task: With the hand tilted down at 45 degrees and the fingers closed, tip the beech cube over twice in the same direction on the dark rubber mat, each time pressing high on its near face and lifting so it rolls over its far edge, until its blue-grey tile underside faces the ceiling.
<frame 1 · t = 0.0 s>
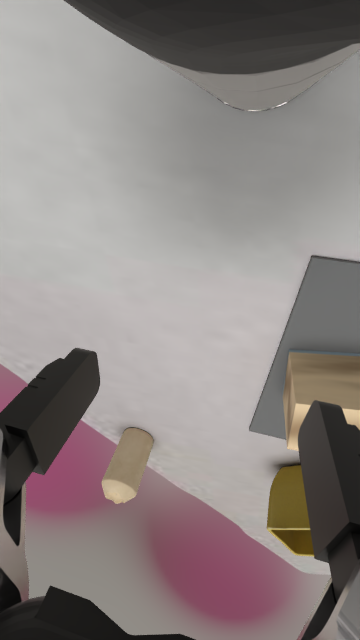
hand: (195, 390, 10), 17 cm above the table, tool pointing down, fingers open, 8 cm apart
candle: (139, 435, 47), on the table
cube: (319, 375, 30), resting on mat
flower pot: (304, 471, 42), on the table
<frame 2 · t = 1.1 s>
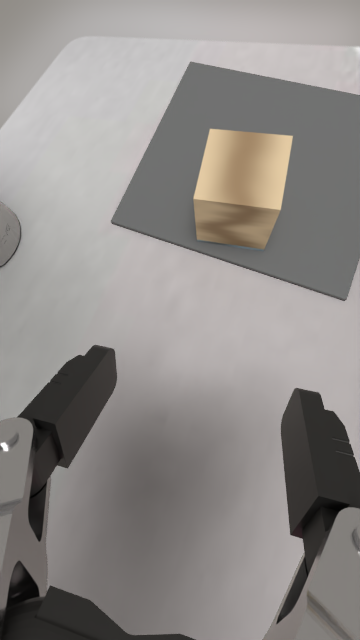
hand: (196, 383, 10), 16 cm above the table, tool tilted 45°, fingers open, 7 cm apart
cube: (235, 216, 29), resting on mat
mat: (256, 166, 31), on the table
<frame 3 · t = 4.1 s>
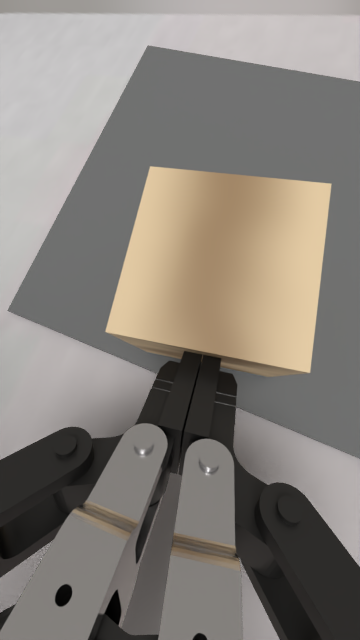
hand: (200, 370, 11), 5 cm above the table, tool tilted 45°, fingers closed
cube: (216, 308, 17), resting on mat, touching gripper
mat: (253, 215, 18), on the table
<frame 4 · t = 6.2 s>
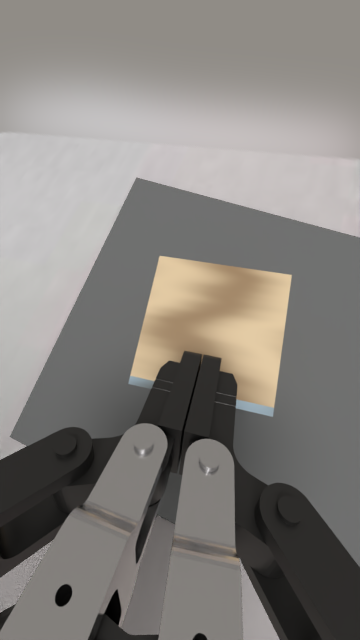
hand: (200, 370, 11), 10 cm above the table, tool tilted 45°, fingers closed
cube: (200, 396, 16), point 4 cm above the table, tilted 90°, touching mat
mat: (227, 352, 21), on the table
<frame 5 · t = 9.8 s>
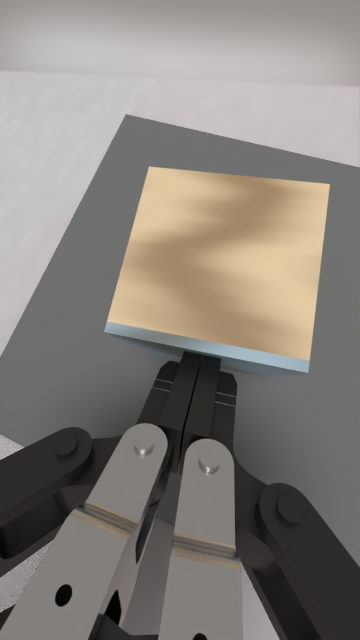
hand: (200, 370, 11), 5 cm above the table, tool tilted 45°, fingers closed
cube: (203, 359, 13), point 4 cm above the table, tilted 90°, touching gripper, mat
mat: (234, 314, 17), on the table
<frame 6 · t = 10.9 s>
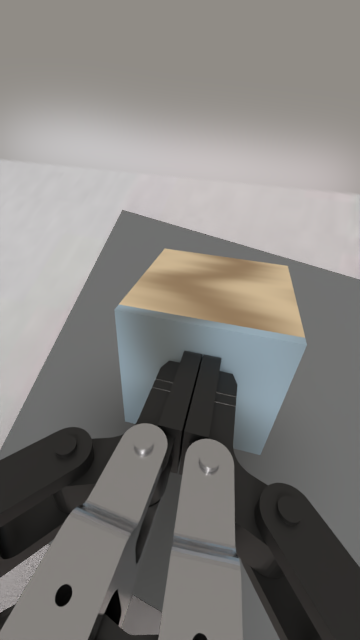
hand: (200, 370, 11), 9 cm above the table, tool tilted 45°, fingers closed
cube: (196, 391, 12), point 8 cm above the table, tilted 131°, touching gripper, mat
mat: (217, 404, 19), on the table
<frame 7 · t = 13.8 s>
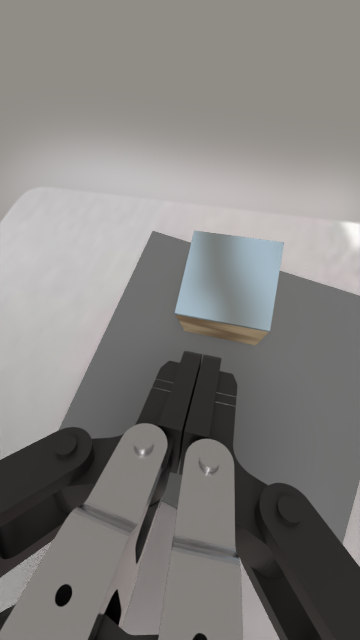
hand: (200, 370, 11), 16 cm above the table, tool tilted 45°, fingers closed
cube: (229, 277, 20), point 7 cm above the table, tilted 180°, touching mat
mat: (224, 377, 26), on the table
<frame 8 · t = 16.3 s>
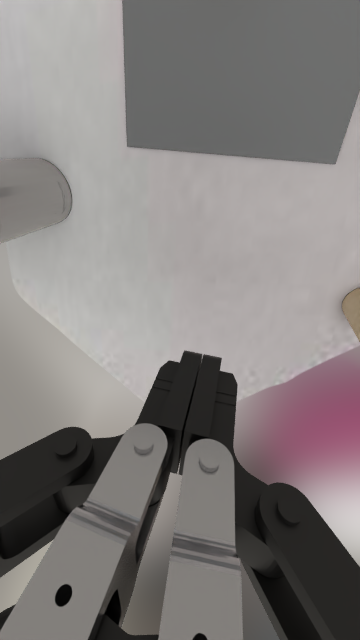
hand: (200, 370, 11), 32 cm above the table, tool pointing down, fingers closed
mat: (243, 17, 28), on the table
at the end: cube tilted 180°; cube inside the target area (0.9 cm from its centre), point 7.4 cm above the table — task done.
